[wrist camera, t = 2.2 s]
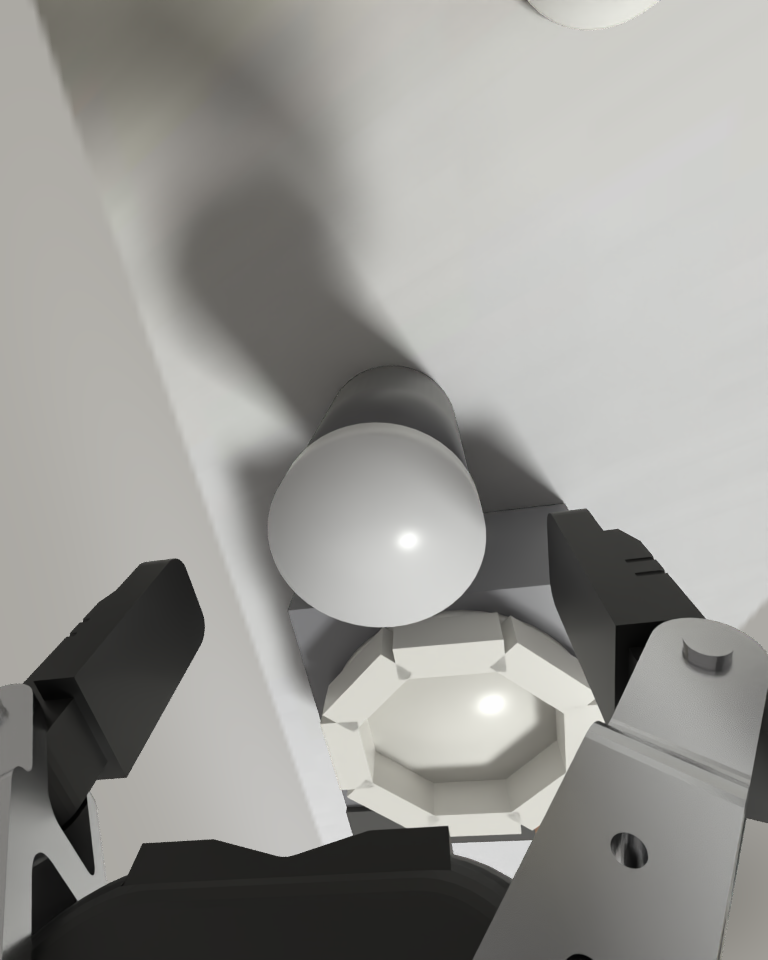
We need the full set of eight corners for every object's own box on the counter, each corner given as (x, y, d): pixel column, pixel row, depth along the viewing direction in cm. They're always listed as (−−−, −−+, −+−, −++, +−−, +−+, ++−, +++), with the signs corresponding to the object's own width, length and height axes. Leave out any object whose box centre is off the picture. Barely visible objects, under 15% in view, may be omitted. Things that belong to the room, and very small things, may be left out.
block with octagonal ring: (316, 532, 21) (275, 643, 15) (564, 503, 19) (629, 611, 14) (368, 736, 25) (352, 882, 19) (570, 723, 24) (620, 874, 18)
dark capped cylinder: (350, 341, 18) (302, 402, 10) (481, 393, 18) (525, 486, 11) (309, 464, 20) (244, 588, 12) (428, 507, 20) (434, 652, 13)
